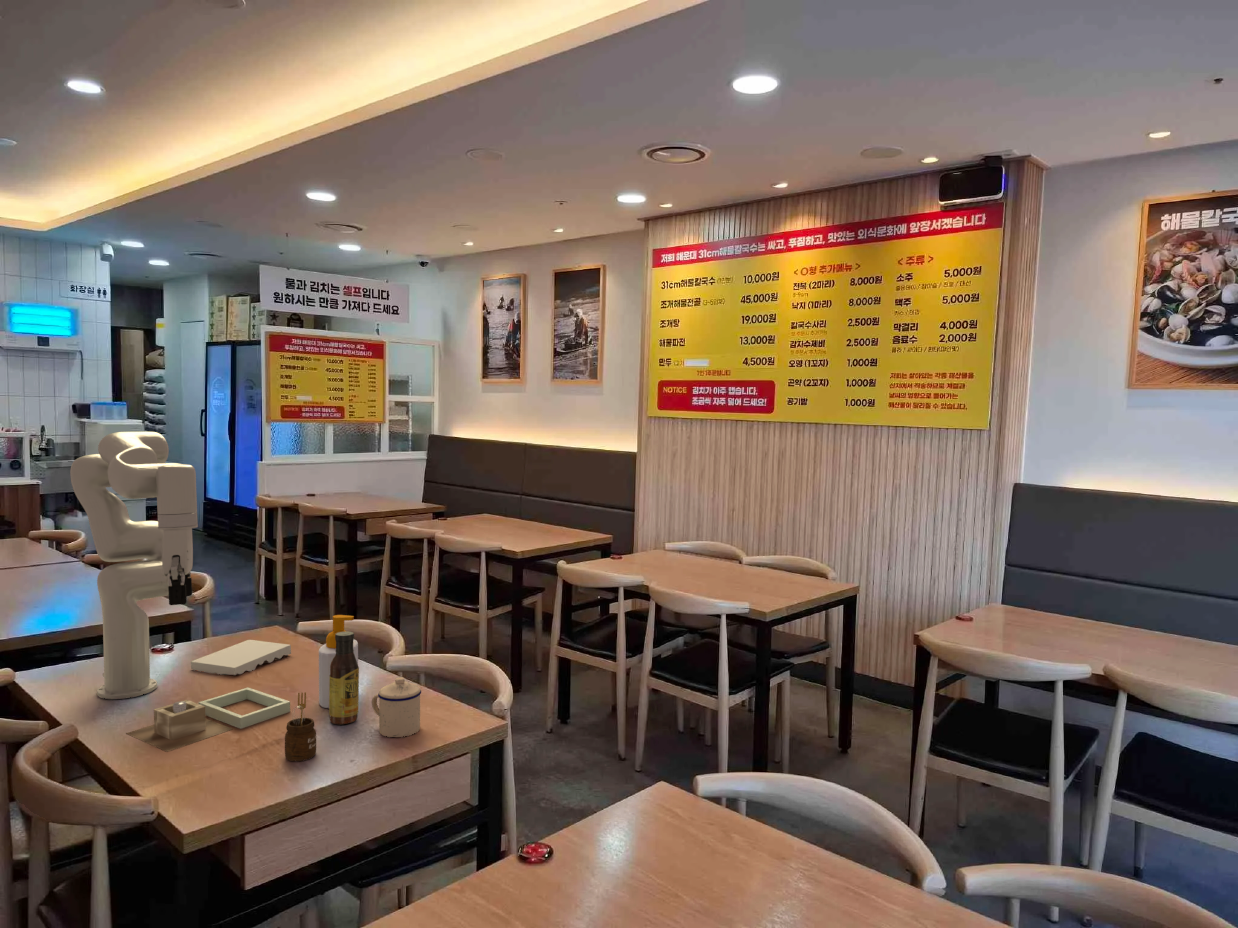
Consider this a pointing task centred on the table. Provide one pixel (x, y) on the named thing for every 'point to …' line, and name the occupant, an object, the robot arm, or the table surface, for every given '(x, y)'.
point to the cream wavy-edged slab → (241, 657)
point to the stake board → (169, 745)
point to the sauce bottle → (344, 681)
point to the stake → (179, 707)
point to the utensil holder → (300, 736)
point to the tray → (241, 721)
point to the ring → (179, 721)
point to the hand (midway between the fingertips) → (180, 600)
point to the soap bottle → (331, 657)
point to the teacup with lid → (398, 708)
